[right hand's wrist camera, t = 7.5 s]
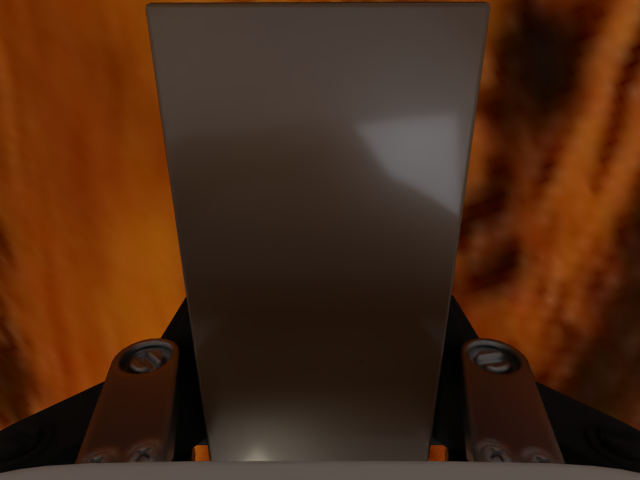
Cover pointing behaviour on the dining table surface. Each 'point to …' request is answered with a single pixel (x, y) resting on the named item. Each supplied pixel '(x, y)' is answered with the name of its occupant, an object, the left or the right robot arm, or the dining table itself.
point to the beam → (318, 214)
